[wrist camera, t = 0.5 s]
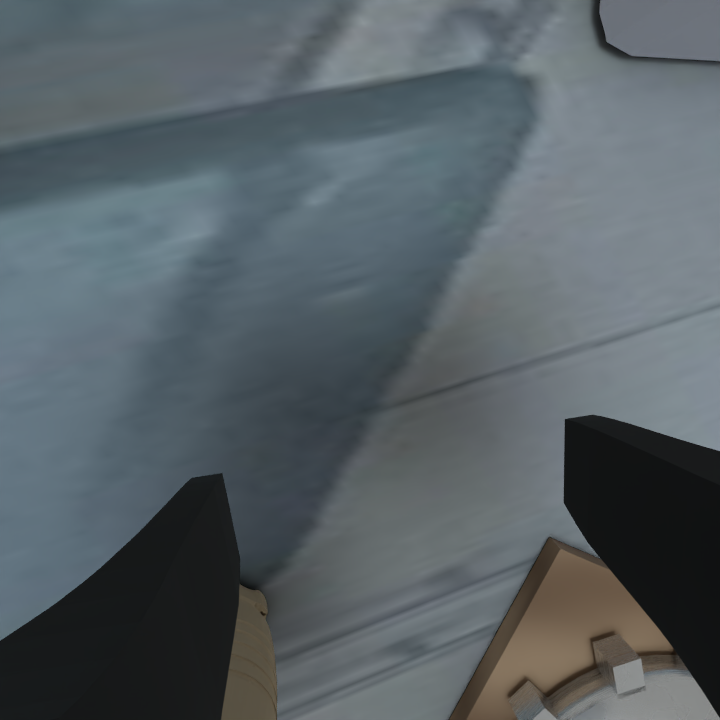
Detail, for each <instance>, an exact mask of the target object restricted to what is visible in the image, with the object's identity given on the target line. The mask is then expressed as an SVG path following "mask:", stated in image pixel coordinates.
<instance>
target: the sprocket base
mask: <svg viewBox="0 0 720 720" xmlns="http://www.w3.org/2000/svg"><path fill="white" fill-rule="evenodd" d="M617 634H620V636H621V637H622V638H623V639H624V640H625V641H626V642H627V643H628V644H629V646H630V647H631V648H632V649H633V650H634V651H635V652H636V653H637V654H638V656H649V655H676V654H677V653H676V651H675V650H674V648H673V647H672V646H671V644H670V643H669V642H668V640H667V639H666V638H665V636H664V635H663V634H662V632H661V631H660V630H659V629H658V627H657V626H656V625H655V624H654V622H653V621H652V620H651V619H650V618H649V616H648V615H647V614H646V613H645V612H644V610H643V609H642V608H641V607H640V605H639V604H638V603H637V602H636V601H635V599H634V598H633V597H632V596H631V595H630V593H629V592H628V591H627V590H626V589H625V587H624V586H623V585H622V584H621V583H620V581H619V580H618V579H617V578H616V577H615V575H614V574H613V573H612V572H611V570H610V569H609V568H608V567H607V566H606V564H605V563H604V562H603V561H602V560H601V559H599V558H597V557H594V556H592V555H590V554H587V553H585V552H583V551H580V550H578V549H576V548H573V547H571V546H569V545H566V544H564V543H562V542H559V541H557V540H555V539H552V538H550V537H549V538H548V540H547V542H546V544H545V546H544V548H543V549H542V551H541V553H540V555H539V557H538V559H537V560H536V562H535V564H534V566H533V568H532V569H531V571H530V573H529V575H528V577H527V579H526V580H525V582H524V584H523V586H522V588H521V590H520V591H519V593H518V595H517V597H516V599H515V601H514V602H513V604H512V606H511V608H510V610H509V612H508V613H507V615H506V617H505V619H504V621H503V622H502V624H501V626H500V628H499V630H498V632H497V633H496V635H495V637H494V639H493V641H492V643H491V644H490V646H489V648H488V650H487V652H486V654H485V655H484V657H483V659H482V661H481V663H480V664H479V666H478V668H477V670H476V672H475V674H474V675H473V677H472V679H471V681H470V683H469V685H468V686H467V688H466V690H465V692H464V694H463V696H462V697H461V699H460V701H459V703H458V705H457V706H456V708H455V710H454V712H453V714H452V716H451V717H450V719H449V720H518V719H517V717H516V715H515V713H514V711H513V709H512V707H511V705H510V703H509V701H508V699H509V698H510V697H512V696H513V695H514V694H515V693H516V692H517V691H518V690H519V689H520V688H521V687H522V686H523V685H524V684H525V683H526V682H527V681H530V682H531V683H532V684H533V685H534V686H535V687H536V688H538V689H539V690H540V691H541V692H542V693H543V694H544V695H545V696H546V697H547V698H548V697H549V696H551V695H552V694H553V693H554V692H556V691H557V690H558V689H560V688H561V687H563V686H564V685H566V684H568V683H569V682H571V681H573V680H574V679H576V678H577V677H579V676H582V675H584V674H586V673H588V672H590V671H592V670H594V669H596V668H597V664H596V659H595V653H594V648H593V642H595V641H599V640H602V639H605V638H608V637H611V636H614V635H617Z"/></svg>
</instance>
